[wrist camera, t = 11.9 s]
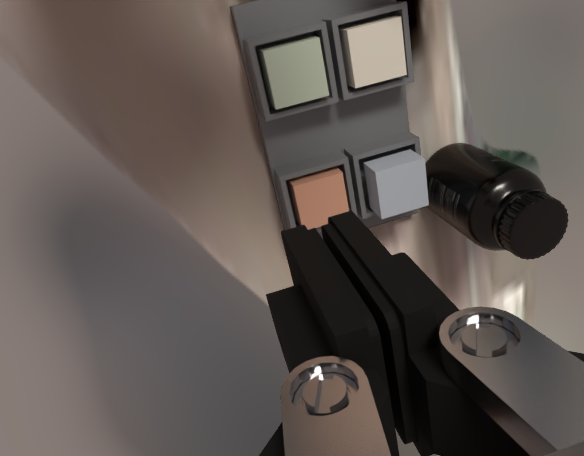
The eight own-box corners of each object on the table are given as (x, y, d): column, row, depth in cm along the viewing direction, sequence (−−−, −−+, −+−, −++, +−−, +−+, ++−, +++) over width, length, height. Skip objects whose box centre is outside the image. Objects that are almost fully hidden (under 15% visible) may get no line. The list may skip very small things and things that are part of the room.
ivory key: (335, 28, 36) (346, 30, 34) (386, 15, 36) (401, 16, 34) (344, 83, 38) (355, 88, 36) (392, 70, 38) (406, 74, 36)
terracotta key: (286, 176, 40) (293, 186, 38) (332, 162, 40) (342, 172, 38) (296, 219, 42) (303, 231, 39) (340, 206, 42) (350, 217, 40)
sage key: (256, 48, 35) (262, 51, 33) (309, 35, 36) (319, 37, 34) (269, 103, 37) (276, 109, 35) (319, 89, 38) (329, 95, 35)
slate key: (363, 162, 39) (375, 172, 37) (410, 149, 39) (424, 158, 37) (370, 207, 41) (381, 219, 39) (414, 194, 41) (428, 205, 39)
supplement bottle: (460, 220, 47) (545, 284, 37) (403, 198, 45) (476, 259, 34) (497, 155, 45) (599, 203, 35) (440, 129, 43) (530, 171, 32)
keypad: (230, 6, 35) (235, 6, 32) (386, -31, 36) (406, -34, 33) (288, 245, 44) (297, 263, 41) (411, 207, 46) (429, 222, 43)
